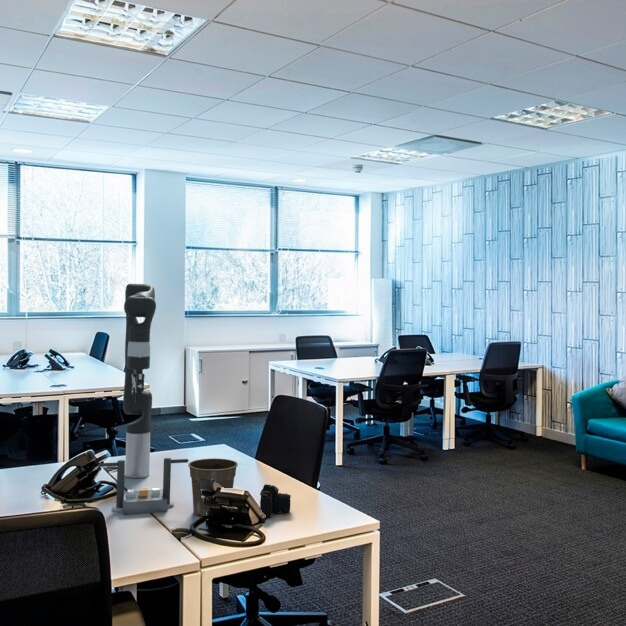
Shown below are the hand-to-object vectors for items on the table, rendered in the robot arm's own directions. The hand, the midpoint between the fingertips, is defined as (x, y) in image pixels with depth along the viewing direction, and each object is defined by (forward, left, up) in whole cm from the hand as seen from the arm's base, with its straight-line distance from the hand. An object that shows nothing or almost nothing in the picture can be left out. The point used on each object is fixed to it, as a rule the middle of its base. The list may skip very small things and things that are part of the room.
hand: (137, 401), depth 231 cm
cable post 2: (+9, +12, -34) cm, 37 cm away
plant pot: (+19, +23, -34) cm, 45 cm away
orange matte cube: (+9, +2, -30) cm, 31 cm away
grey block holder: (+9, +2, -34) cm, 35 cm away
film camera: (+25, +43, -34) cm, 60 cm away
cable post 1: (+9, -8, -34) cm, 36 cm away
